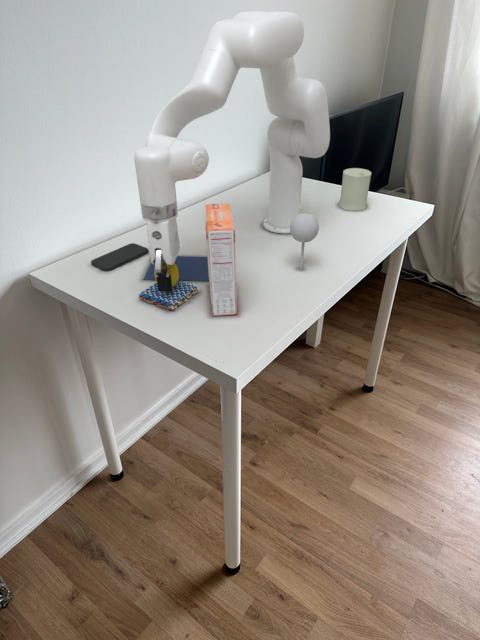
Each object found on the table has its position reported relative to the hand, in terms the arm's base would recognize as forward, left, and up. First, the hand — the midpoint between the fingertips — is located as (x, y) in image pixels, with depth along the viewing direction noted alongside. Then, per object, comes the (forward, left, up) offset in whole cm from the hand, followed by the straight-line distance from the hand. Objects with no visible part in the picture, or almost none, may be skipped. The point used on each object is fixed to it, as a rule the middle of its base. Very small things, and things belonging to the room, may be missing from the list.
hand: (167, 283), depth 105 cm
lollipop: (-32, -15, -4) cm, 36 cm away
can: (-52, -61, -4) cm, 80 cm away
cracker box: (-13, +1, -4) cm, 13 cm away
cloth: (-1, -14, -4) cm, 15 cm away
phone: (+17, -19, -4) cm, 26 cm away
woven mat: (0, 0, -4) cm, 4 cm away
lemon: (0, 0, -2) cm, 2 cm away
